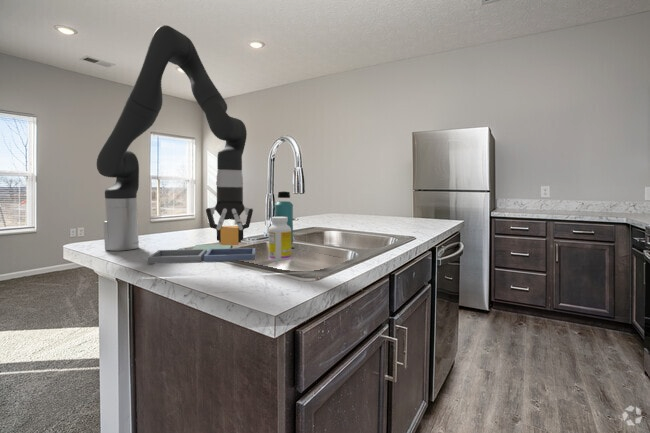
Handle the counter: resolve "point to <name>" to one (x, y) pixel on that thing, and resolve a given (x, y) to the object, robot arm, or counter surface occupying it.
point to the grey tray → (177, 256)
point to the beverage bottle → (285, 210)
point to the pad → (212, 246)
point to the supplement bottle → (279, 239)
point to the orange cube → (229, 235)
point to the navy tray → (230, 254)
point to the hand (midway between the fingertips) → (230, 241)
